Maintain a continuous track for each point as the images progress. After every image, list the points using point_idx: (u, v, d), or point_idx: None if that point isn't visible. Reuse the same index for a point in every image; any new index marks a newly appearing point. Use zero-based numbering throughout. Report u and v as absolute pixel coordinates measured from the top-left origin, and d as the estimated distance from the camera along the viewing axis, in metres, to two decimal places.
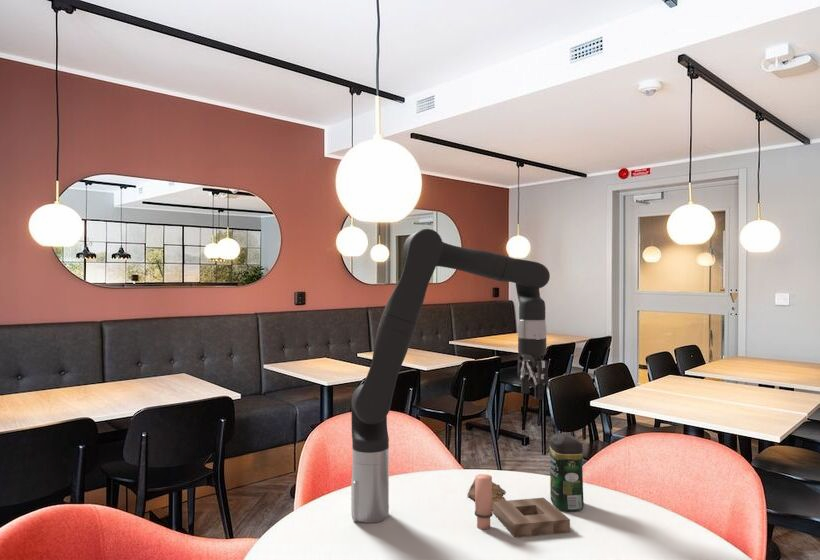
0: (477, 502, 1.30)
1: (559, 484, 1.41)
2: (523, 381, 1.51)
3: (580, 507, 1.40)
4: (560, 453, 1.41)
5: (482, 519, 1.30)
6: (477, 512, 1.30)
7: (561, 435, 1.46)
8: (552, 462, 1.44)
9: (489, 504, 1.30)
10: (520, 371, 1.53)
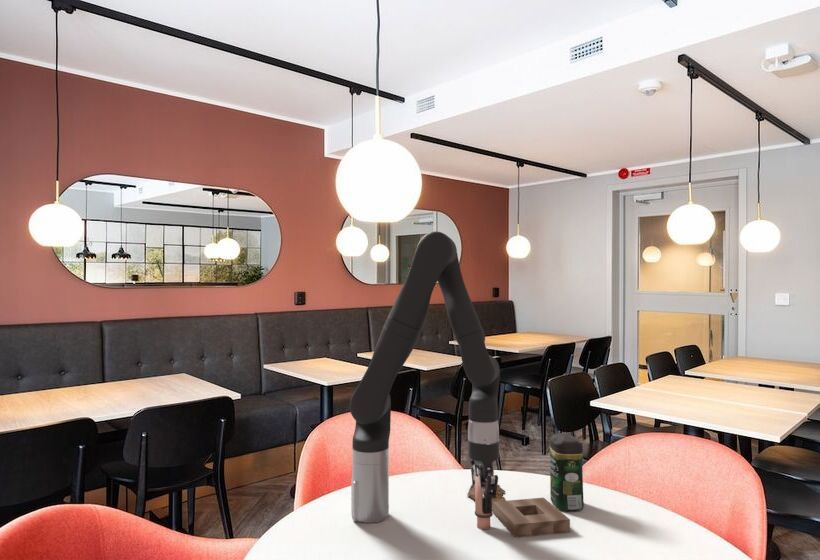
0: (477, 502, 1.30)
1: (559, 484, 1.41)
2: None
3: (580, 507, 1.40)
4: (560, 453, 1.41)
5: (482, 519, 1.30)
6: (477, 512, 1.30)
7: (561, 435, 1.46)
8: (552, 462, 1.44)
9: None
10: (474, 478, 1.36)
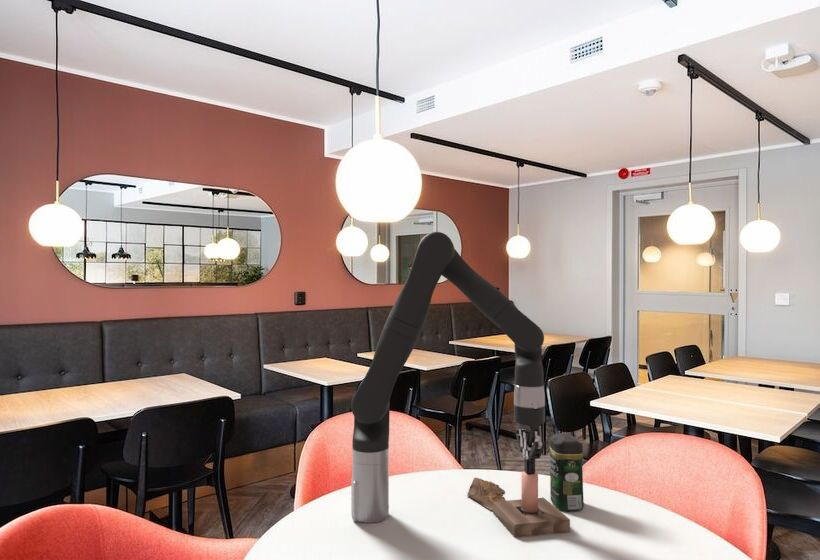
0: (524, 498, 1.33)
1: (559, 484, 1.41)
2: None
3: (580, 507, 1.40)
4: (560, 453, 1.41)
5: None
6: (524, 508, 1.33)
7: (561, 435, 1.46)
8: (552, 462, 1.44)
9: (535, 500, 1.32)
10: None
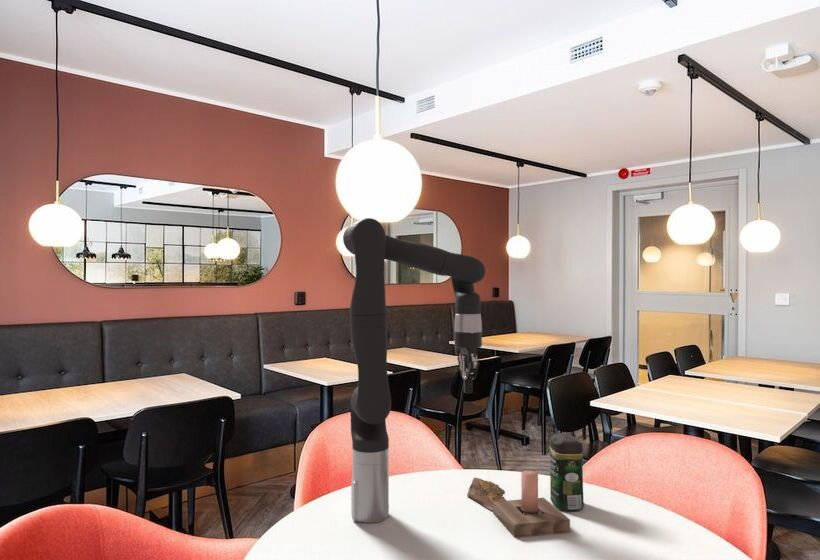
0: (524, 498, 1.33)
1: (559, 484, 1.41)
2: None
3: (580, 507, 1.40)
4: (560, 453, 1.41)
5: None
6: (524, 508, 1.33)
7: (561, 435, 1.46)
8: (552, 462, 1.44)
9: (535, 500, 1.32)
10: (462, 369, 1.53)
